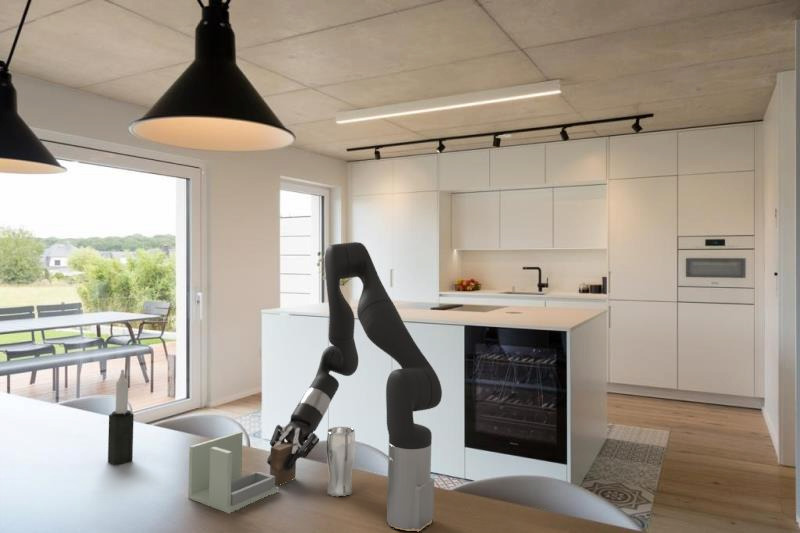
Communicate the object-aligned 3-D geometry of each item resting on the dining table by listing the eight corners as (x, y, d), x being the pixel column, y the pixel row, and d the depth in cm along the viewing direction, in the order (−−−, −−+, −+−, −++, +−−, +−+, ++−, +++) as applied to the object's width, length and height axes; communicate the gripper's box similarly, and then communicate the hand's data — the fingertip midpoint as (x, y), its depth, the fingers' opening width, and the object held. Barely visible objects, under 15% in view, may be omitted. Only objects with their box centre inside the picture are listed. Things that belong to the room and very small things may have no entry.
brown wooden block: (295, 479, 146) (296, 443, 146) (278, 486, 141) (279, 449, 141) (286, 476, 147) (287, 441, 147) (269, 483, 142) (270, 447, 142)
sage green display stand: (278, 491, 137) (279, 437, 137) (229, 513, 125) (230, 454, 125) (238, 478, 145) (239, 427, 145) (188, 498, 132) (189, 442, 132)
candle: (115, 466, 151) (117, 372, 151) (106, 461, 154) (108, 369, 154) (134, 461, 155) (136, 369, 155) (124, 456, 158) (127, 367, 158)
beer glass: (327, 499, 134) (329, 435, 134) (323, 487, 140) (325, 427, 140) (356, 496, 135) (358, 433, 135) (351, 485, 142) (352, 425, 142)
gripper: (284, 397, 154) (249, 453, 144) (325, 405, 146) (291, 465, 136) (297, 413, 159) (264, 468, 148) (338, 421, 151) (306, 481, 141)
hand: (277, 466), depth 142 cm, fingers open, 5 cm apart
